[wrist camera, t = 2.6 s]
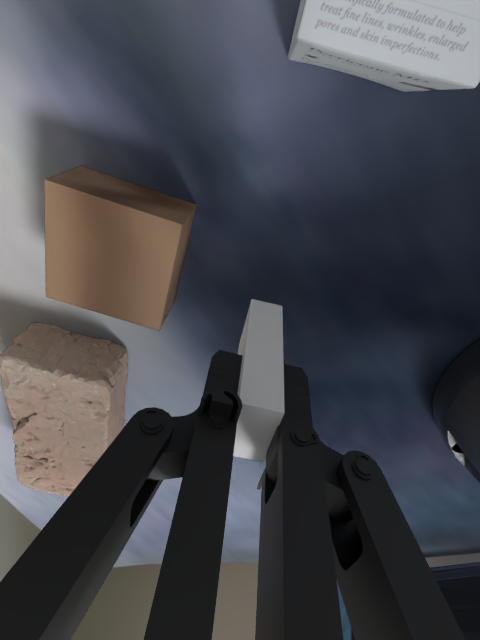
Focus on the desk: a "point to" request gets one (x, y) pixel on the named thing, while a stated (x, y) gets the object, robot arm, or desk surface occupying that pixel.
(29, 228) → the desk surface
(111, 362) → the brick
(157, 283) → the block
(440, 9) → the skincare box
